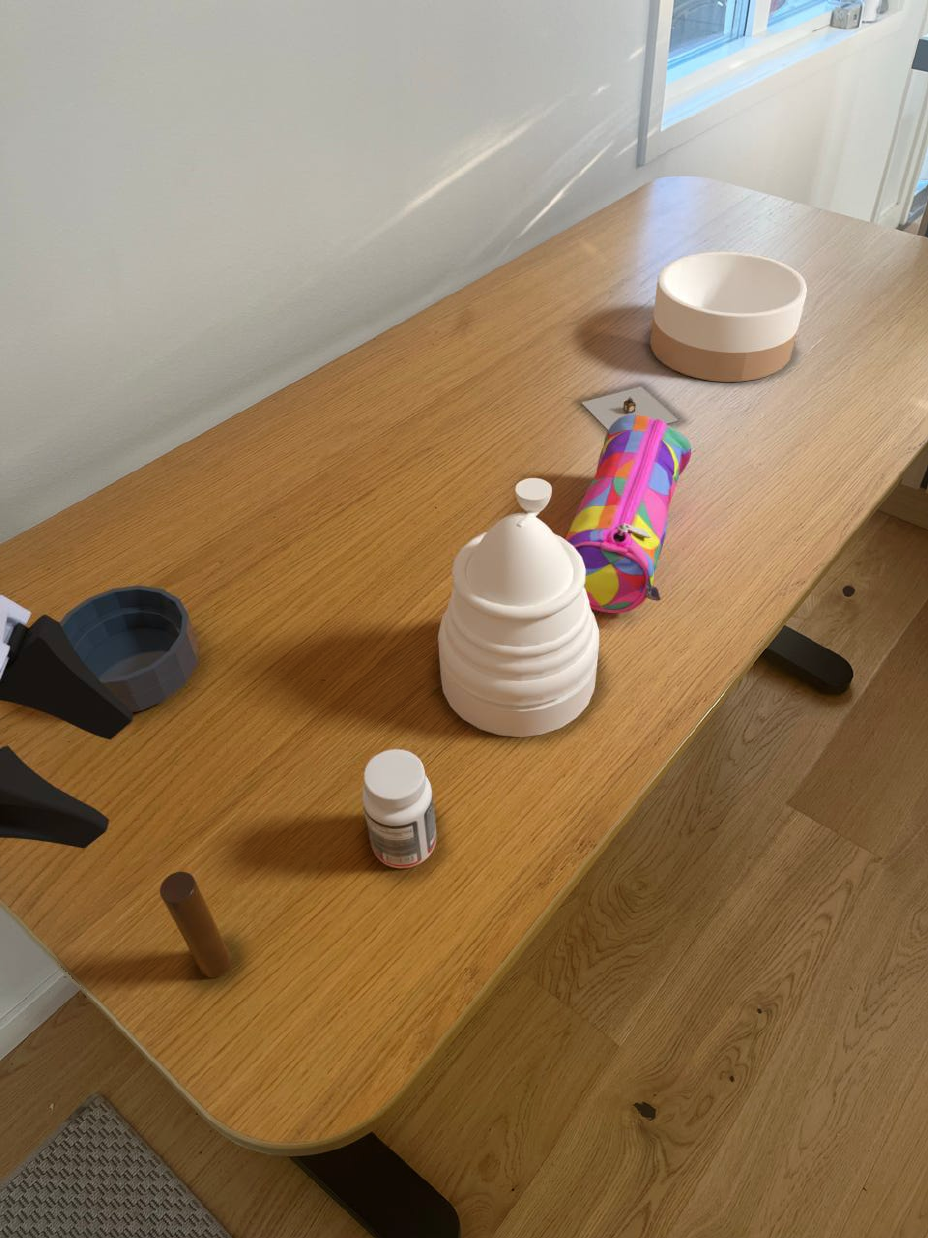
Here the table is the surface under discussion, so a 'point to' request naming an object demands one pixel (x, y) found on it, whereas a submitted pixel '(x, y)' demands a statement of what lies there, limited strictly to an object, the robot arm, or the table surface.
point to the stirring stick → (195, 923)
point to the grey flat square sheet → (627, 407)
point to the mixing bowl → (135, 643)
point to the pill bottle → (399, 808)
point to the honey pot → (519, 626)
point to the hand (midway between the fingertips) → (110, 777)
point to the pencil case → (628, 512)
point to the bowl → (726, 315)
